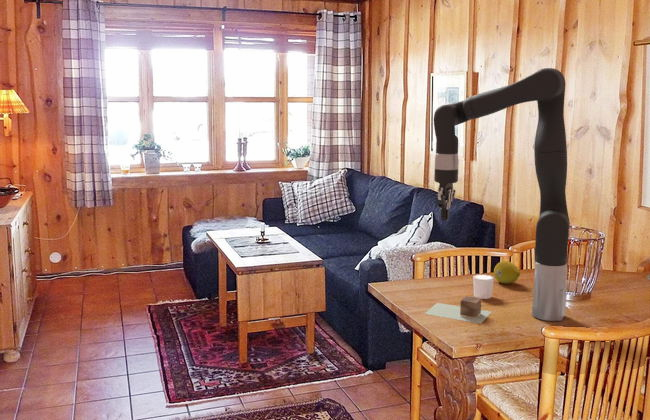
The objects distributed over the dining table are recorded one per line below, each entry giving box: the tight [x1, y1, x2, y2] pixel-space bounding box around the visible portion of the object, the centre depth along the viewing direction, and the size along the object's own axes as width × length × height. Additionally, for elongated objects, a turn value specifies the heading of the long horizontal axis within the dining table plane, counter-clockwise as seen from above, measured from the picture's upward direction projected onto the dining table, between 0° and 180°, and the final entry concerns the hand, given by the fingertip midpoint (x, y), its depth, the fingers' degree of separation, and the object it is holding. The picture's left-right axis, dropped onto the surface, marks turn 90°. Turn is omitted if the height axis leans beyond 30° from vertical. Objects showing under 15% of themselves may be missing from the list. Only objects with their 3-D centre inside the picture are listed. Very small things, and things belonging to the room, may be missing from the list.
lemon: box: [493, 260, 521, 285], centre depth 242 cm, size 11×8×8 cm
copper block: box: [460, 295, 482, 319], centre depth 209 cm, size 5×5×5 cm
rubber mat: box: [423, 302, 492, 324], centre depth 211 cm, size 18×12×1 cm, turn 61°
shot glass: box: [472, 273, 495, 300], centre depth 227 cm, size 7×7×7 cm
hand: (444, 220), depth 220 cm, fingers closed
